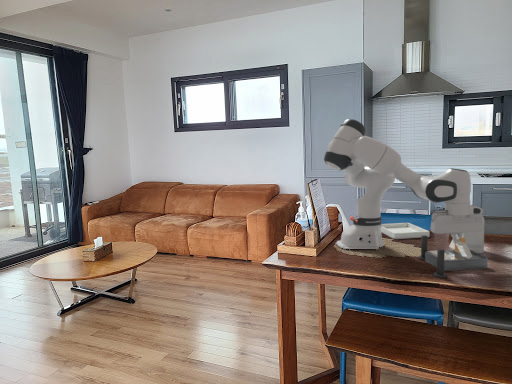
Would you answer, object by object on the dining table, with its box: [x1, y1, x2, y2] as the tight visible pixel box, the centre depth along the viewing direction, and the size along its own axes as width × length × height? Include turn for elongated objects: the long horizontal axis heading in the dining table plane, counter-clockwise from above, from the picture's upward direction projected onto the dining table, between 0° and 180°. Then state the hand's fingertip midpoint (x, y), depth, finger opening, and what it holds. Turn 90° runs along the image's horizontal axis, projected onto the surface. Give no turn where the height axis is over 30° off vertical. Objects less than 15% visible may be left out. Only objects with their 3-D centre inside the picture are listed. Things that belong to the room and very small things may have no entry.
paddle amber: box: [454, 237, 465, 253], centre depth 147 cm, size 2×4×6 cm, turn 5°
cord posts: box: [417, 235, 448, 279], centre depth 146 cm, size 4×25×10 cm, turn 171°
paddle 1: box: [448, 235, 464, 250], centre depth 153 cm, size 2×4×6 cm, turn 5°
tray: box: [381, 222, 430, 240], centre depth 201 cm, size 19×22×3 cm
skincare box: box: [462, 218, 485, 254], centre depth 164 cm, size 8×7×16 cm
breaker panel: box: [424, 249, 489, 272], centre depth 148 cm, size 18×13×5 cm
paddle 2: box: [456, 241, 472, 259], centre depth 142 cm, size 2×4×6 cm, turn 5°
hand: (456, 243), depth 147 cm, fingers closed
